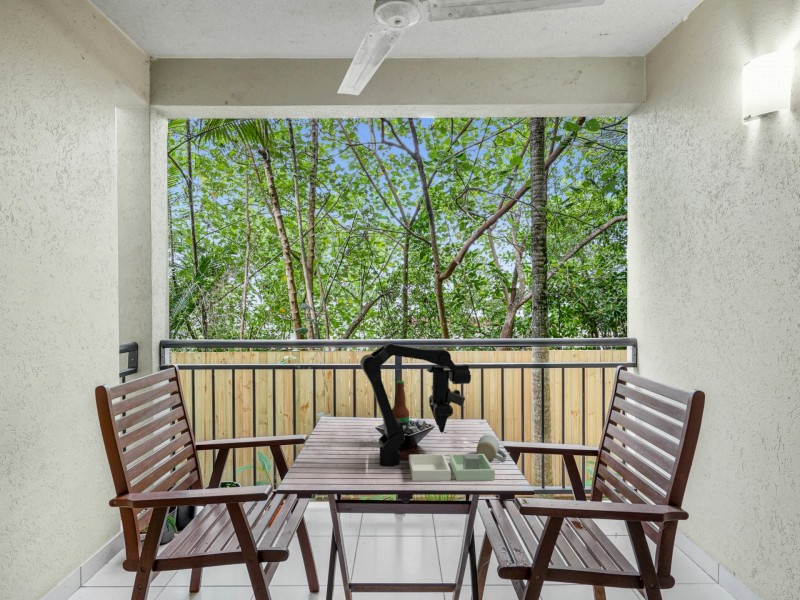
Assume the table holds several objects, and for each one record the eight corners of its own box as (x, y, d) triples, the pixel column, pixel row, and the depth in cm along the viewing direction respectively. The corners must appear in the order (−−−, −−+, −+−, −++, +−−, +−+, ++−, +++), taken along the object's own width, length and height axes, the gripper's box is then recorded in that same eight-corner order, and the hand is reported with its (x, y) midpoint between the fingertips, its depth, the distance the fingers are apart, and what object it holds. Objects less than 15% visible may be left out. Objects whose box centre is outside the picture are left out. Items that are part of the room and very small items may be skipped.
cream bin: (412, 483, 162) (412, 470, 161) (408, 465, 178) (409, 454, 177) (450, 483, 162) (450, 470, 162) (443, 465, 178) (443, 454, 178)
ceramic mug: (475, 461, 184) (476, 439, 183) (478, 454, 191) (479, 433, 191) (505, 464, 181) (506, 443, 180) (507, 457, 188) (508, 436, 188)
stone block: (465, 473, 168) (465, 458, 168) (462, 469, 173) (463, 454, 173) (479, 473, 169) (479, 458, 168) (476, 469, 173) (476, 454, 173)
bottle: (391, 448, 197) (392, 383, 197) (388, 442, 204) (389, 379, 204) (410, 447, 199) (411, 382, 198) (406, 441, 206) (407, 379, 205)
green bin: (456, 483, 162) (457, 470, 162) (449, 465, 178) (449, 454, 178) (494, 482, 163) (494, 470, 163) (483, 465, 179) (483, 453, 179)
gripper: (468, 389, 172) (467, 436, 172) (458, 379, 190) (458, 421, 191) (435, 389, 171) (434, 436, 171) (428, 379, 190) (428, 422, 190)
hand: (440, 428), depth 181 cm, fingers open, 9 cm apart
